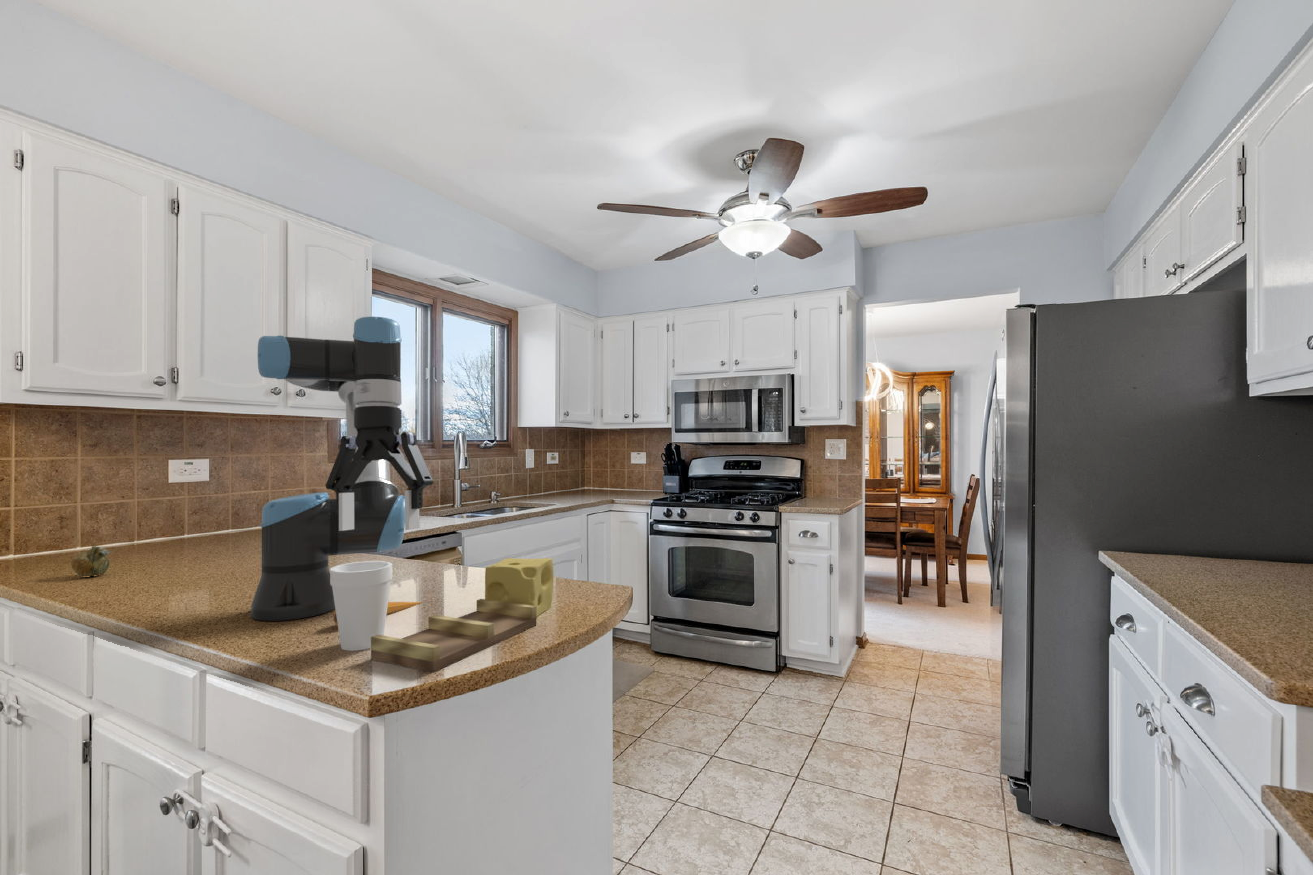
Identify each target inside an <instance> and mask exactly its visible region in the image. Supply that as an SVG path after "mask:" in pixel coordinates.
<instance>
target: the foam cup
mask: <svg viewBox="0 0 1313 875" xmlns="http://www.w3.org/2000/svg"><path fill="white" fill-rule="evenodd" d="M329 572H330V584H331V585H332V589H333V596H334V603H335V609H334V610H335V611H336V616H337V623H338V627H337V629H338V635H339V644H340V648H341V650H344V651H348V652H349V651H350V652H351V651H352V652H353V651H356V652H357V651H363V650H364V651H365V650H368V649H371V637H372V636H375V635H382V636H385V627H386V621H387V620H386V619H387V615H386V614H387V606H388V602H389V598H390V590H391V582H392V579H393V563H392V562H389V561H385V560H384V561H383V560H367V561H355V562H350V563H349V562H347V563H342V564H338V565H335V566H332V567H330V568H329Z"/></svg>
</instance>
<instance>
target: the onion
mask: <svg viewBox="0 0 1313 875" xmlns="http://www.w3.org/2000/svg"><path fill="white" fill-rule="evenodd" d="M109 554H111V550H109V549H108V550H107V549H106V548H104V547H102V546H97V545H93V546H91V548H90V549H89V550H86V551H82V552H81V553H78V554H77V555H75V556H74V557H73V559H72V561H71V569H72V571H73V572H74V573H75V574H77V575H78V576H79V577H81V576H94V575H99V574H102V575H104V574H105V573H106V572H108V570H109V568H110V564H111V562H110V559H109V557H106V556H108V555H109Z"/></svg>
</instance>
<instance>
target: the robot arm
mask: <svg viewBox="0 0 1313 875" xmlns="http://www.w3.org/2000/svg"><path fill="white" fill-rule="evenodd" d="M352 337H353V340H341V339H322V338H321V339H319V338H311V337H309V338H307V337H297V336H295V337H294V336H284V335H263V336H261V337H260V338H259V339H258V342H257V368H258V373H259V375H260V376H261V377H263V378H265V379H266V378H268V379H277V380H285V381H286V382H288V384H289V383H290V384H292V385H294V386H298V387H301V388H304V389H309V390H314V391H320V392H336V393H337V394H338V397H339V399H340V400H341V402H343V403H344V404H345V420H346V422H345V424H346V425H345V426H346V431H345V432H346V435H343V436H341V437H340V445H339V450H338V453H337V456H336V458H335V460H334V463H333V465H332V468H331V471H330V473H329V476H328V478H327V481H326V483H325V488H326V490H331V491H334V492H335V495H336V496H335V498H330V495H329V493H328V492H326V491H324V492H323V491H321V492H312V493H304V494H298V495H291V496H285V497H280V498H277V499H273V500H270V501H267V503H265V504H264V506H263V507H262V508H261V509H262V510H261V522H260V528H261V576H260V579H259V581H258V585H257V587H256V590H255V593H254V596H253V599H252V601H251V604H250V617H251V619H254V620H256V621H257V620H258V621H263V622H264V621H265V622H267V621H268V622H276V621H278V622H279V621H290V620H299V619H303V618H310V617H314V616H319V615H323V614H325V613H329V612H331V611H334V610H336V609H335V603H334V596H333V589H332V585H331V584H330V568H329V558H330V557H329V556H338V555H339V556H340V555H354V554H369V553H381V552H386V551H394V550H397V549H399V547H401V545H402V543H403V539H404V535H405V534H404V532H405V531H407V530H408V531H411V530H416V529H417V530H418V529H421V528H420V527H421V526H420V525H421V524H420V509H421V510H422V508H423V507H424V506H423V499H424V496H423V494H424V493H423V490H424V489H425V488H428V486H432V485H434V480H433V478H432V475H431V473H430V470H429V469H428V466H427V464H426V462H425V459H424V457H423V455H422V453H421V450H420V448H419V446H418V440H417V433H415V432H408V431H407V432H406V431H403V432H401V433H400V429H401V428H402V409H401V408H400V407H399V406H401V405H402V378H401V364H402V363H401V361H402V358H401V354H402V353H401V352H402V351H401V348H402V347H401V346H402V343H401V342H402V341H403V340H402V336H401V327H400V324H399V323H398V322H397V321H396V320H394V319H392V318H388V317H383V316H363V317H362V316H361V317H359V318H357V319H356V320H355V321H354V323H353V333H352ZM400 445H401V447H402V450H403V452H404V453H403V452H402V451H401V449H400V448H399V446H400ZM405 457H406V459H405ZM390 464H391V466H392V467H393V469H394V470H395V471H396V473H397V474H398V475H399V476H400V478H401V479H402V481H403V482H404V484H405V485H406V486H407V488H406V490H404V495H403V494H399V488H398V487H397V485H396V484H394V483H393V482H391V472H390V470H391V467H390Z"/></svg>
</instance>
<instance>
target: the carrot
mask: <svg viewBox="0 0 1313 875" xmlns="http://www.w3.org/2000/svg"><path fill="white" fill-rule="evenodd" d="M422 603H423V601H421V602H420V601H390V602H389V601H388V606H387V614H386V616H388V615H392V614H394V613H393V612H395V613H397V611H398V612H400V610H401V611H403V609H404V610H406V609H409V608H412V607H414V605H415V606H417V605H420V604H422ZM416 604H417V605H416ZM411 606H412V607H411ZM405 608H406V609H405ZM391 613H392V614H391ZM333 622H334V624H335V626H336V627H337V628H338V623H337V616H336V610H334V612H333Z"/></svg>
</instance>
